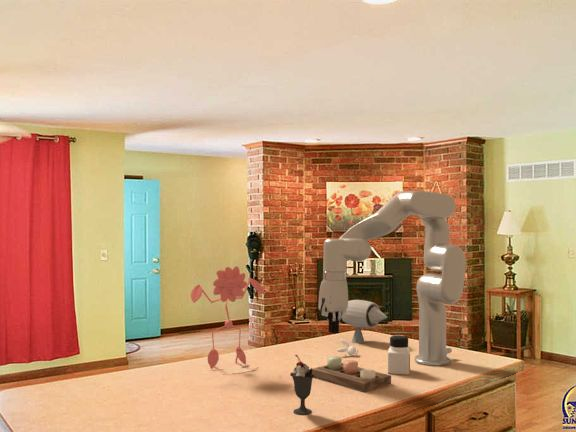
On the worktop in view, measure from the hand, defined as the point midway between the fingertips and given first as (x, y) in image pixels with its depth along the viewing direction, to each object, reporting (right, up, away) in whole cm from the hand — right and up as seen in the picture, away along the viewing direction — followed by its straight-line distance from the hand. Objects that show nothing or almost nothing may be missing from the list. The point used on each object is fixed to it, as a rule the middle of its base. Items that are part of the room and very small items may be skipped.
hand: (333, 332), depth 188 cm
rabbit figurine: (+7, -15, +28) cm, 32 cm away
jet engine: (+16, -15, +50) cm, 54 cm away
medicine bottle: (+22, -15, +6) cm, 27 cm away
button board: (+5, -14, -5) cm, 16 cm away
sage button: (0, -12, 0) cm, 12 cm away
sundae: (-11, -14, -35) cm, 39 cm away
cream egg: (+10, -13, -10) cm, 19 cm away
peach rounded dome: (+5, -12, -5) cm, 14 cm away
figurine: (-35, -14, +9) cm, 39 cm away
